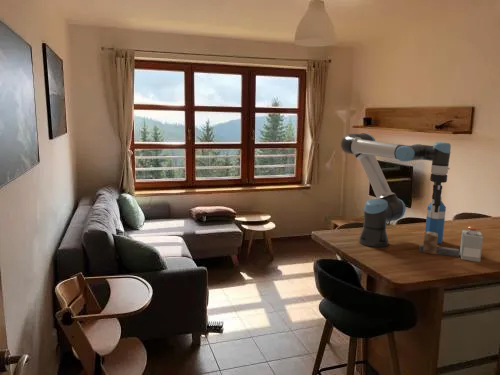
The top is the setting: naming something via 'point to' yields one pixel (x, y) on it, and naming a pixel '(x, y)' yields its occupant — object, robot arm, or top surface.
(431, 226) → the water bottle
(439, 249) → the rail
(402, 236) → the top surface
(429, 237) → the block
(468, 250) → the white box
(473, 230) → the plunger
